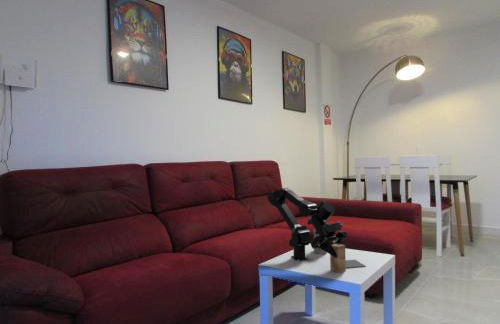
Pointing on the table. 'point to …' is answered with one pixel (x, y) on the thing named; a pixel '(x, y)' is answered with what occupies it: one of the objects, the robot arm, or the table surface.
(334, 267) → the walnut block
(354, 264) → the mat
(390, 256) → the table surface
